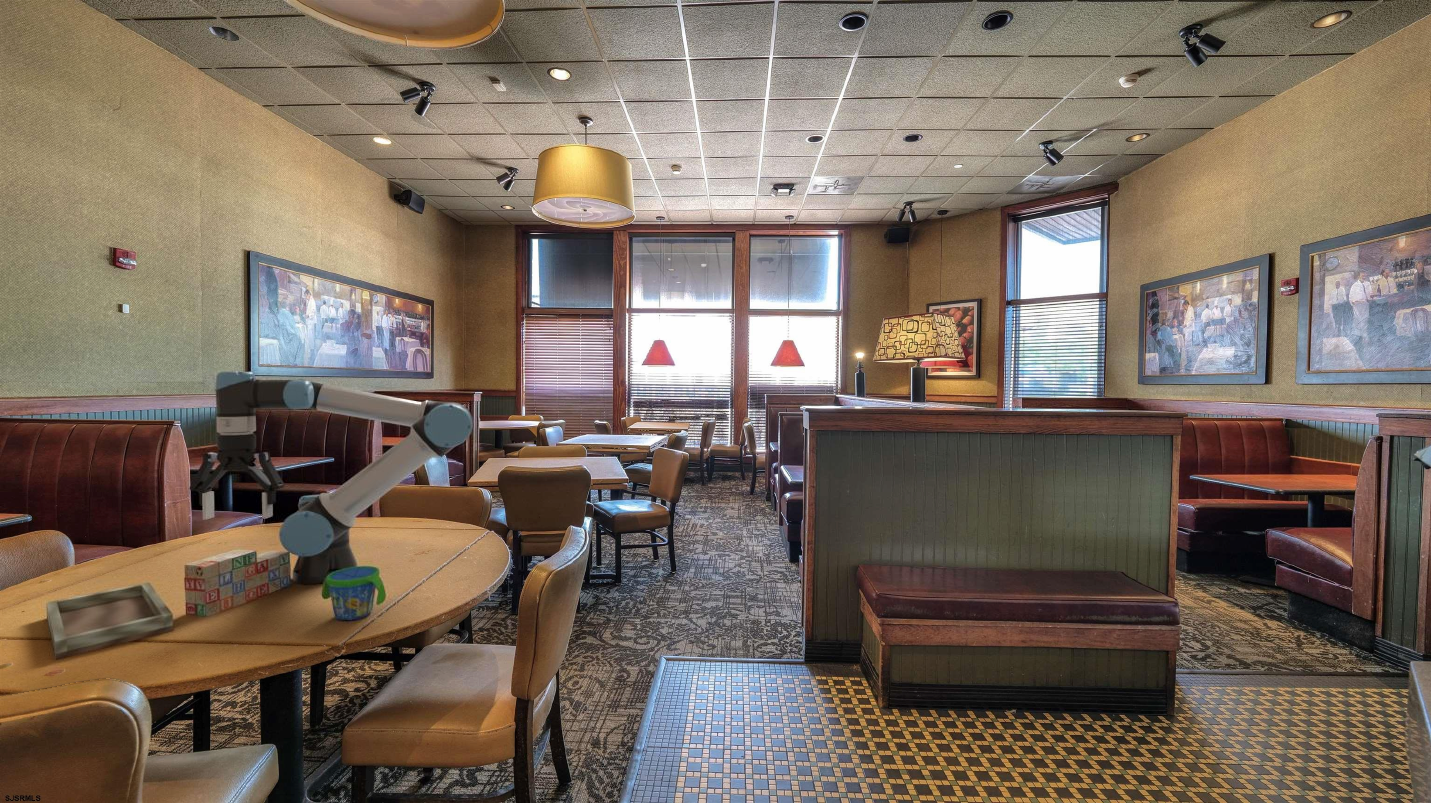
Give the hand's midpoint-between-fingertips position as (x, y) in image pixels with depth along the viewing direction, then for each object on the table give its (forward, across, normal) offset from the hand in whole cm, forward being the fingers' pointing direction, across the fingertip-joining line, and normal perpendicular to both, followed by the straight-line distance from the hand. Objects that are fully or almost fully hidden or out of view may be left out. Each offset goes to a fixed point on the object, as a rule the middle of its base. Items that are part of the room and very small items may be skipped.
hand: (238, 517), depth 143 cm
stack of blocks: (+21, 0, 0) cm, 21 cm away
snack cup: (+21, +33, -13) cm, 41 cm away
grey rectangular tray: (+21, -19, -13) cm, 31 cm away
